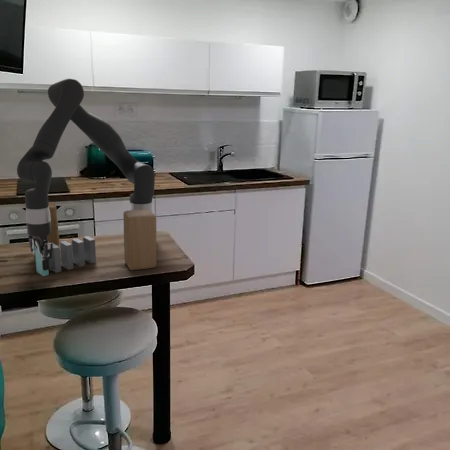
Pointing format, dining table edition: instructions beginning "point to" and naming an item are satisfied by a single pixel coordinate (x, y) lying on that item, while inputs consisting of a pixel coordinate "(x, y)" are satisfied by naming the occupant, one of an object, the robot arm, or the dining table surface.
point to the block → (53, 225)
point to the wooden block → (139, 239)
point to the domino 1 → (40, 263)
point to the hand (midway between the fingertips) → (42, 266)
